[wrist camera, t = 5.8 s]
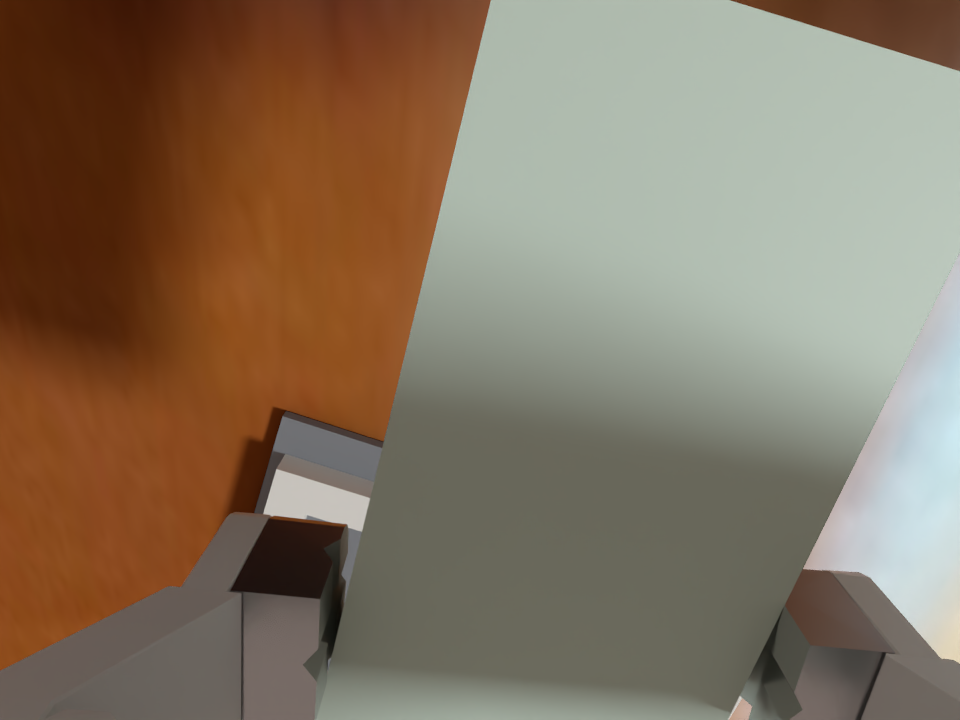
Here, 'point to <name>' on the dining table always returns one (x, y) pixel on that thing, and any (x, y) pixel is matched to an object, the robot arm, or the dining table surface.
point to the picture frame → (323, 479)
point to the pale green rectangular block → (641, 357)
